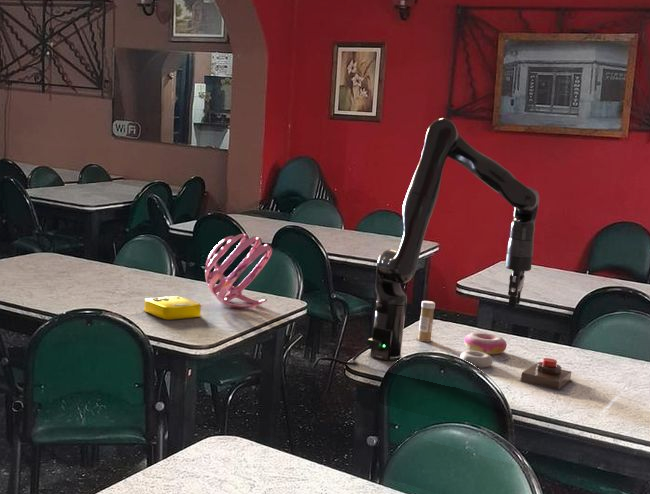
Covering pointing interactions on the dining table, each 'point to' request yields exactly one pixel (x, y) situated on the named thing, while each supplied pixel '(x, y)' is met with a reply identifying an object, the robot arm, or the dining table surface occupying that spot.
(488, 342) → the donut
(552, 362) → the light button
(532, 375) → the switch block
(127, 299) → the dining table surface
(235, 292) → the spiral basket
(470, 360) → the donut
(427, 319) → the sprinkles bottle
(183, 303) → the element tile
